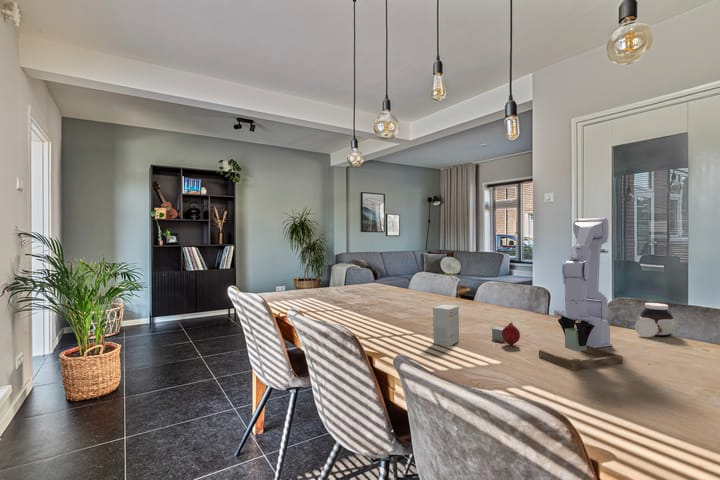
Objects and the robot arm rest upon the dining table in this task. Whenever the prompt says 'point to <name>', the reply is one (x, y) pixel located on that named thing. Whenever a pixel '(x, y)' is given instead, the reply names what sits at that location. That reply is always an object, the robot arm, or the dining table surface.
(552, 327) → the dining table surface
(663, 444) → the dining table surface
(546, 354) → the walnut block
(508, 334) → the red round fruit
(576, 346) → the sage block
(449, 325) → the small box
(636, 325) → the spread jar
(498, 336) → the light gray block
